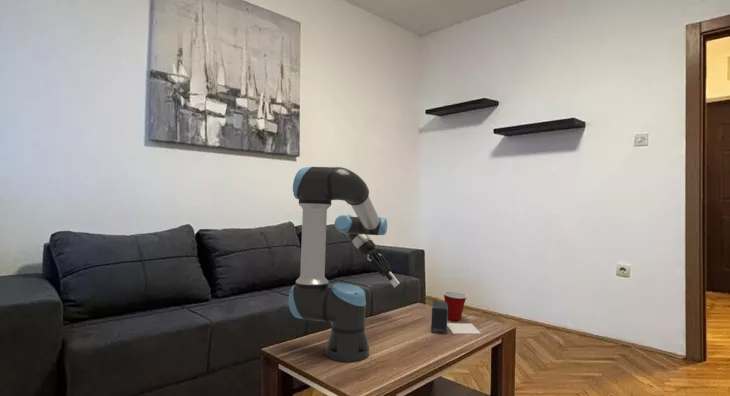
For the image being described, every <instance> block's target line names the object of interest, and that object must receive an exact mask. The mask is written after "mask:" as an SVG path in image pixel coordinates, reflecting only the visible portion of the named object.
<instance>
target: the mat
mask: <svg viewBox="0 0 730 396" xmlns="http://www.w3.org/2000/svg"><path fill="white" fill-rule="evenodd" d="M447 328H448V330H450V332H451V333H452V334H453V335H482V333H481V331H479V330H478V329H477V327H476V326H475V325H473V323H464V322H463V323H459V322H453V323H451V322H449V323H448V322H447Z"/></svg>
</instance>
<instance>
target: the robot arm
mask: <svg viewBox="0 0 730 396" xmlns="http://www.w3.org/2000/svg"><path fill="white" fill-rule="evenodd" d="M292 193H293V197H294V198H295V199H296V200H298V206H299V207H300V208H301V209H302V220H301V221H302V222H301V244H300V245H301V247H300V249H301V250H300V251H301V252H300V275H299V277H298V278H297V279H296V280H295V284H293V285H292V286H291V288H290V290H289V294H288V306H289V307H288V308H289V311H290V313H291V314H292V316H293V317H294V318H296V319H301V320H304V321H317V322H318V321H319V322H327V323H330V325H331V330H330V334H329V336H328V340H327V343H326V344H325V355H326V357H327V358H329V359H331V360H332V361H337V362H345V363H346V362H347V363H349V362H350V363H351V362H359V361H362V360H365V359H367V358H368V357H369V356H370V344H369V342H368V341H369V340H368V337H367V335H366V331H365V330H366V305H367V301H366V292H365V290H364V289H363V288H361V287H360V286H358V285H354V284H351V283H334V284H333V285H332V287H329V283H330V282H329V280H328V279H327V278H326V277H325V270H326V268H325V267H326V248H327V246H326V243H327V242H326V241H327V220H328V219H327V214H328V209H329V208H330V207H331V206H332V201H345V202H346V203H347V205H350V206H351V208H352V209H353V211H354V213H355V215H356V216H353V215H351V214H347V215H346V214H340V215H338V216H337V217H336V218H335V220H334V227H335V229H336V230H337V231H338V232H339V233H340V234H344V235H346V236H347V237H348V239H349V240H350V242H351V243H353V246H354V247H355V248H356V249H358V251H359V253H360V254H361V256H366V259H365V261H366V262H368V263H369V264H370V265H371V266H372V267H373V268H374V269H375V270H376V271H377V272H378V273H379V274H380V275H381V276H382V277H385V278H386V279H387V280H388V281H389V283H390V284H391V285H392V286H393V288H396V287H398V285H400V284H401V283H400V281H399V280H398V279H397V278H396V276H395V275H394V274H393V273H392V271H393V269H392V267H391V266H390V264H389V263H388V261H387V260H386V259H385V256H384V254H383V252H380V253H379V251H377V249H376V244H375V242H374V241H373V240H372V239H371V237H370V236H385V235H386V234H387V233H388V232H387V231H388V220H387V218H385V217H379V214H378V213H377V211H376V209H375V206H374V204H373V202H372V200H371V199H370V196H369V195H370V190H369V187H368V185H367V184H366V181H364V180H363V179H362V178H361V177H360V176H359V175H358V174H356V173H355V172H354V171H352V170H350V169H348V168H345V167H341V166H340V167H339V166H335V167H334V166H332V167H331V166H305V167H302V168H300V169H299V170H298V171H297V172H296V174H295V176H294V178H293V183H292ZM369 235H370V236H369Z"/></svg>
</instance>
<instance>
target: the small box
mask: <svg viewBox="0 0 730 396" xmlns="http://www.w3.org/2000/svg"><path fill="white" fill-rule="evenodd" d="M447 323H448V307H447V303H445V302H443V301H442V302H441V301H432V306H431V324H430V327H431V328H430V333H431V334H441V335H447V330H448V329H447V328H448V327H447Z"/></svg>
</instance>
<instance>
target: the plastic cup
mask: <svg viewBox="0 0 730 396" xmlns="http://www.w3.org/2000/svg"><path fill="white" fill-rule="evenodd" d="M442 294H443V299H444V303H447V307H448V318H447V321H449V322H453V323H459V322H460V321H461V319H462V315H463V311H464V306H465V302H466V299H467V298H468V295H467V294H465V293H463V292H459V291H453V290H447V291H446V290H445V291H443V292H442ZM458 321H459V322H458Z"/></svg>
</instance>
